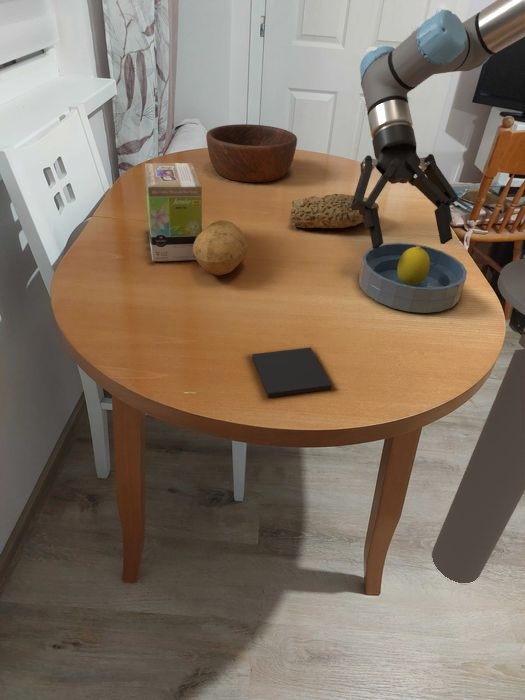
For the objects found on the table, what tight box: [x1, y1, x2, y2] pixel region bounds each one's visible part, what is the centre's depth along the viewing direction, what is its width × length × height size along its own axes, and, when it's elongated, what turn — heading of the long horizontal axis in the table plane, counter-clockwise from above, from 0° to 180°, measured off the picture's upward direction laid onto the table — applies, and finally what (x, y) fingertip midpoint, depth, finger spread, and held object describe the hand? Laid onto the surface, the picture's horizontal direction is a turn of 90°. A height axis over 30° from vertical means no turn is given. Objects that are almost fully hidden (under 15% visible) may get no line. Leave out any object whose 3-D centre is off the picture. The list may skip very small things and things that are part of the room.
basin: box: [358, 242, 468, 314], centre depth 94 cm, size 18×18×5 cm
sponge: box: [289, 193, 380, 229], centre depth 117 cm, size 13×8×20 cm
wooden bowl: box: [205, 123, 298, 183], centre depth 145 cm, size 25×25×10 cm
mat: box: [251, 347, 333, 399], centre depth 73 cm, size 9×9×1 cm
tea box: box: [144, 162, 203, 262], centre depth 102 cm, size 15×10×15 cm, turn 12°
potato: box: [193, 219, 248, 276], centre depth 96 cm, size 10×14×8 cm
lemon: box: [397, 246, 430, 286], centre depth 93 cm, size 6×6×8 cm
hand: (413, 243), depth 92 cm, fingers open, 13 cm apart
